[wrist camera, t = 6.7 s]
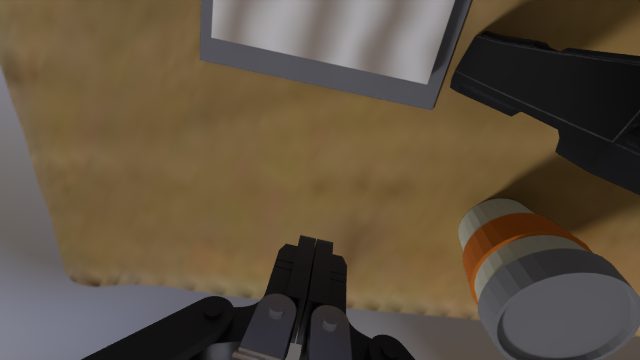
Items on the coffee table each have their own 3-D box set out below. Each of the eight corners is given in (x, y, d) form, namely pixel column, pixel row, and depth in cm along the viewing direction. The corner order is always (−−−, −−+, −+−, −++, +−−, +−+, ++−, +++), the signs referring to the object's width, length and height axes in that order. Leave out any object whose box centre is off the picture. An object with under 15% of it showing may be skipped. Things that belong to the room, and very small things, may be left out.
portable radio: (546, 60, 33) (978, 136, 10) (508, 114, 35) (790, 269, 13) (478, 27, 32) (787, 34, 10) (445, 85, 35) (627, 197, 12)
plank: (455, -16, 30) (461, -19, 29) (423, 82, 34) (427, 84, 32) (223, -68, 30) (216, -73, 28) (217, 37, 34) (211, 37, 32)
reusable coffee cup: (423, 231, 43) (458, 326, 29) (504, 165, 38) (590, 243, 24) (486, 281, 45) (544, 389, 32) (568, 225, 41) (677, 325, 27)
